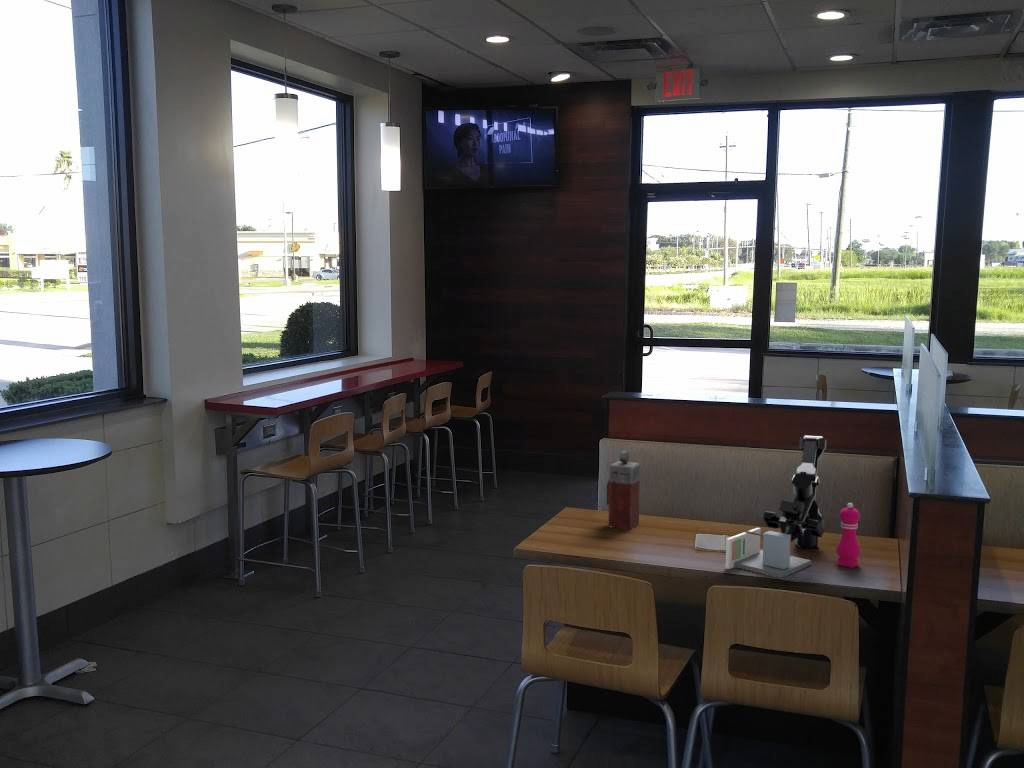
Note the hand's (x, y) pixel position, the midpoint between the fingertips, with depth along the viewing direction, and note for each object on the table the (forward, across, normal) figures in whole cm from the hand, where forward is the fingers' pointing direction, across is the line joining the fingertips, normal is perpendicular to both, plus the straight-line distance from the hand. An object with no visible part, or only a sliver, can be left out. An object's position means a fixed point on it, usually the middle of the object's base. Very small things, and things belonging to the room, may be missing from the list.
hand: (782, 545), depth 280 cm
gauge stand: (+6, -4, +5) cm, 8 cm away
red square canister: (0, -69, +10) cm, 69 cm away
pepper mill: (-8, +13, +19) cm, 24 cm away
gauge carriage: (+6, -4, +2) cm, 7 cm away
